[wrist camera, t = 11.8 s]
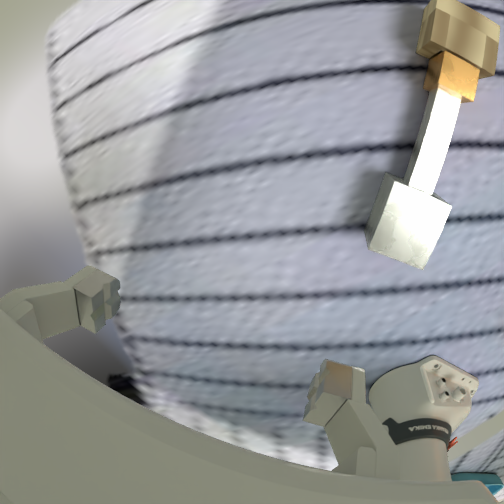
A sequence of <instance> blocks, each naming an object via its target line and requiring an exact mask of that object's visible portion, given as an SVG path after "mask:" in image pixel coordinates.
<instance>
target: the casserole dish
mask: <svg viewBox="0 0 504 504" xmlns="http://www.w3.org/2000/svg"><path fill="white" fill-rule="evenodd" d="M451 479H452V481H467V480H478V481H480V482H482V483H483V484H484V485H485V486H486V487H487V488H488V489H489V491H490V492H491V493H492V494H493V495H495V494H496V493H497V492H498V491H500V490H501V489H502V488H503V487H504V484H503V483H502V481H501V479H500V478H499V477H498V476H497V475H495V474H482V473H479V474H478V473H457V474H453V475H451Z"/></svg>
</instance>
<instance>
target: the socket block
mask: <svg viewBox="0 0 504 504" xmlns="http://www.w3.org/2000/svg"><path fill="white" fill-rule="evenodd" d="M499 34H500V26H499V25H497V24H496V23H494V22H493V21H491V20H490V19H488V18H486V17H485V16H483V15H481V14H480V13H478V12H476V11H475V10H473V9H471V8H469V7H468V6H466V5H464V4H462V3H460V2H458V1H456V0H431V1H430V2H429V4H428V5H427V6H426V8H425V9H424V13H423V18H422V24H421V29H420V35H419V40H418V44H417V49H416V53H417V54H419V55H422V56H424V57H426V58H428V59H430V60H431V59H432V58H434V57H436V56H437V55H438V53H439V51H441V50H442V51H447V52H449V53H451V54H453V55H454V56H456V57H458V58H460V59H462V60H464V61H465V62H467V63H469V64H471V65H473V66H474V67H476V68H478V69H479V70H480V73H479V78H478V79H481V78H486V77H490V76H494V74H495V67H496V60H497V53H498V44H499Z"/></svg>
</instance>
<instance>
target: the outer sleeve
mask: <svg viewBox="0 0 504 504" xmlns="http://www.w3.org/2000/svg"><path fill="white" fill-rule="evenodd" d="M402 181H403V179H402V178H399V177H397V176H394V175H392V174H389V173H387V172H385V175H384V178H383V181H382V184H381V187H380V189H379V192H378V195H377V198H376V200H375V203H374V206H373V208H372V211H371V214H370V216H369V219H368V222H367V224H366V227H365V229H364V233H365V238H366V242H367V247H368V250H371V251H374V252H377V253H379V254H382V255H385V256H387V257H390V258H393V259H395V260H398V261H401V262H403V263H406V264H409V265H411V266H414V267H417V268H419V269H422V270H423V269H424V267H425V265H426V263H427V261H428V259H429V257H430V255H431V253H432V250H433V248H434V246H435V244H436V242H437V240H438V238H439V235H440V233H441V231H442V229H443V226H444V224H445V222H446V219H447V217H448V214H449V212H450V209H451V207H452V206H451V205H450V204H448V203H447V202H446V201H445V200H443V199H442V198H441V197H440V196H438V195H437V194H436V193H434V192H432V195H431V196H430V195H428V194H426V193H424V192H421V191H419V190H417V189H415V188H412V187H410V186H408V185H405V184H404V183H403V182H402Z"/></svg>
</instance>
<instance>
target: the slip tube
mask: <svg viewBox="0 0 504 504" xmlns="http://www.w3.org/2000/svg"><path fill="white" fill-rule="evenodd" d="M479 73H480V70H479V69H478V68H476V67H474V66H473V65H471V64H469V63H467V62H465V61H464V60H462V59H460V58H458V57H456V56H454V55H453V54H451V53H449V52H447V51H442V50H441V51H439V53H438V55H437V56H436V57H434V58H432V59H431V60H429V64H428V69H427V73H426V77H425V82H424V86H423V89H425V90H427V91H429V92H430V93H429V97H428V101H427V104H426V108H425V112H424V115H423V119H422V122H421V126H420V129H419V133H418V136H417V139H416V142H415V146H414V149H413V152H412V155H411V158H410V161H409V164H408V167H407V170H406V173H405V176H404V179H403V181H402V182H403V183H404V184H405V185H408V186H410V187H412V188H415V189H417V190H419V191H421V192H424V193H426V194H428V195H430V196H431V195H432V192H433V190H434V187H435V184H436V182H437V179H438V176H439V173H440V170H441V167H442V164H443V161H444V158H445V155H446V152H447V149H448V146H449V143H450V139H451V136H452V132H453V129H454V125H455V122H456V118H457V114H458V110H459V106H460V103H466V102H474V97H475V93H476V88H477V83H478V78H479Z"/></svg>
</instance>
